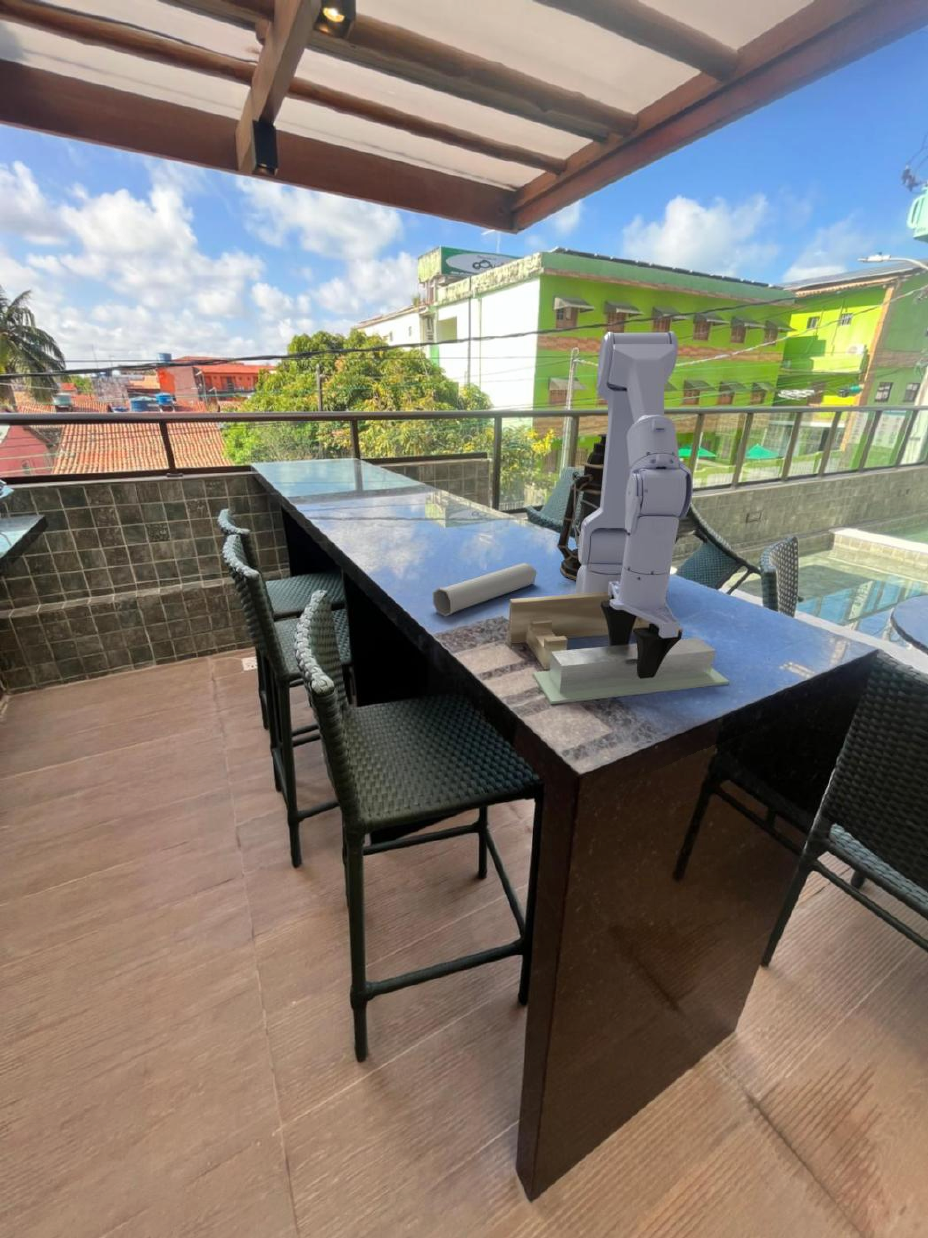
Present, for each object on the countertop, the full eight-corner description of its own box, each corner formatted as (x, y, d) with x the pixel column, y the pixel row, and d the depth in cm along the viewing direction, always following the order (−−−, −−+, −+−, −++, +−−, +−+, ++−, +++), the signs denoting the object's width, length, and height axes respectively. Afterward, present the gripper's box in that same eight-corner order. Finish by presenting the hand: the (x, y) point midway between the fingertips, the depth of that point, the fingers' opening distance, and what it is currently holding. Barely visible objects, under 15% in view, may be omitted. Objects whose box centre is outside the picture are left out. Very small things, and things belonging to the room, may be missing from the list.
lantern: (613, 558, 121) (630, 425, 109) (657, 579, 108) (681, 429, 96) (538, 567, 115) (547, 426, 103) (574, 590, 102) (589, 431, 90)
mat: (532, 674, 71) (532, 672, 71) (695, 658, 76) (695, 655, 75) (551, 704, 64) (551, 701, 64) (728, 683, 69) (729, 681, 69)
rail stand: (508, 639, 81) (510, 599, 79) (655, 626, 86) (662, 587, 83) (528, 671, 72) (531, 626, 69) (692, 654, 77) (701, 612, 74)
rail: (549, 677, 70) (551, 651, 68) (692, 662, 74) (697, 637, 72) (559, 692, 66) (562, 666, 64) (710, 676, 70) (715, 650, 68)
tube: (519, 561, 107) (429, 588, 91) (538, 558, 103) (448, 587, 87) (524, 585, 108) (436, 617, 92) (543, 584, 104) (454, 616, 88)
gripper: (591, 553, 69) (582, 641, 75) (646, 589, 56) (630, 694, 62) (639, 550, 70) (626, 637, 76) (703, 585, 57) (682, 688, 63)
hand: (631, 662), depth 69 cm, fingers open, 7 cm apart
